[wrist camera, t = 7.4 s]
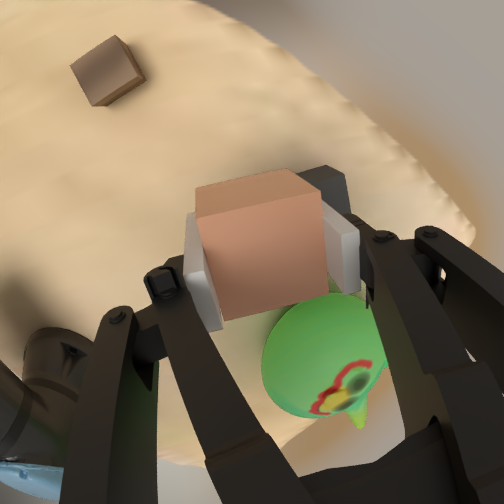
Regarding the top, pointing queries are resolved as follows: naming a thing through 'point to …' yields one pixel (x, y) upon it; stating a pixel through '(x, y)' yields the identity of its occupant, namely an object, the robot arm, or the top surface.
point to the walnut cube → (107, 72)
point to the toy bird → (324, 358)
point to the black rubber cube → (329, 187)
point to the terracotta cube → (263, 241)
